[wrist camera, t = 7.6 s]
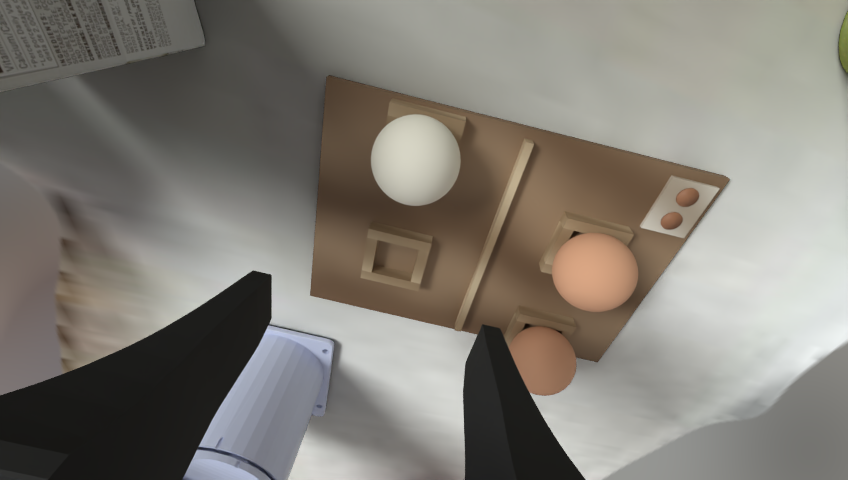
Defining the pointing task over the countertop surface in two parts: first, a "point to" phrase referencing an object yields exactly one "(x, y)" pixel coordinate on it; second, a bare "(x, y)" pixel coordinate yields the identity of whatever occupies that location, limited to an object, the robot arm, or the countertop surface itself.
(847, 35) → the plant pot
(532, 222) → the board
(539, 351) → the terracotta ball
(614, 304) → the terracotta ball
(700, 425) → the countertop surface
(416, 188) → the cream ball
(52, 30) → the coffee box
